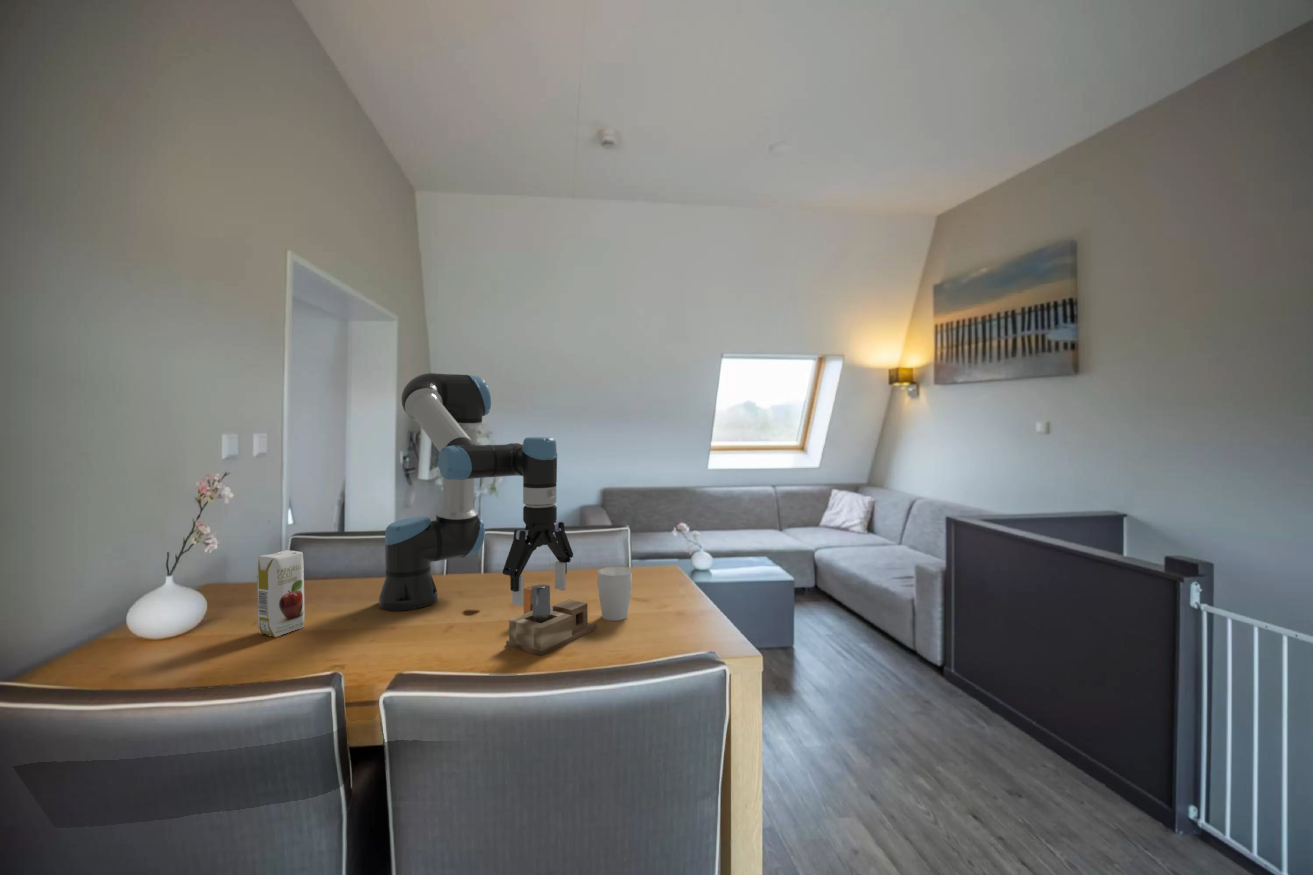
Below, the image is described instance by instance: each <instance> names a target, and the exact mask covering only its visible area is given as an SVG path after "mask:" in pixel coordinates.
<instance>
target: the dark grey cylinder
mask: <svg viewBox="0 0 1313 875" xmlns="http://www.w3.org/2000/svg"><path fill="white" fill-rule="evenodd" d="M532 586H533V587H532V618H533V621H534V622H537V623H543V622H546V621H548V620H550V606H551V586H550V585H549V584H537V585H532Z"/></svg>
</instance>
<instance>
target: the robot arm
mask: <svg viewBox="0 0 1313 875" xmlns="http://www.w3.org/2000/svg"><path fill="white" fill-rule="evenodd" d="M400 401H401V406H402V408H403V411H404V412H405V414H406V415H407V417H408V418H410V419H411V420H413V421H415V422H417V423H418V425H419V426H420V427H421V429H422V430H423V431H424V433H425V434H426V436H427V437H428V438H429V440H430V441H431V442H432V444H433V446H434V447H435V448H436V450H438V452H439V454H438V461H437V464H438V468H439V473H440V475H441V476H442V478H443V480H442V502H441V503H442V504H441V505H442V506H441V508H439V509H438V510H437V511H436V515H435V516H436V517H435V520H431V519H430V517H429V516H412V517H407V518H403V519H399V520H396V521H394V522H391V523H390V524H388V525H387V527H386V529H385V534H384V541H383V542H384V545H385V546H384V549H385V550H384V554H385V555H384V556H385V557H384V560H385V561H384V562H385V563H384V564H385V578H384V581H383V585H382V588H381V591H380V595H379V598H378V607H379V608H380V609H382V610H385V611H397V612H398V611H409V610H416V609H421V608H425V607H428V606H430V605H433V604H435V603H436V602H437V601H438V588H437V586H436V584H435V581H434V578H433V576H432V573H431V569H432V568H431V565H432V562H439V561H445V560H451V559H452V560H453V559H459V558H461V559H462V558H467V557H468V556H473V555H476V554H477V553H478V552H479V551H480V550H481V549H482V548H483V545H484V543H485V542H484V541H485V537H486V536H485V535H486V529H485V523H484V520H483V518H482V517H481V516H480V515H479V512H478V511H477V510H476V508H475V507H474V492H475V491H474V489H475V488H474V487H475V486H474V485H475V479H482V478H483V479H485V478H501V477H502V478H503V477H512V476H513V477H514V476H515V477H517V476H518V477H520V476H521V477H522V480H523V481H522V482H523V483H522V484H523V485H522V486H523V487H522V491H523V492H522V495H523V496H522V497H523V498H522V503H523V504H524V506H523V507H522V521H523V523H524V524H525V528H524V529H523V530H522V529H521V530H520V529H515V530H513V540H512V543H511V546H510V549H509V551H508V555H507V557H506V560H505V564H504V566H503V569H502V574H503V575H504V576H509V577H510V581H509V583H510V584H509V585H510V591H511V593H512V594H511V595H512V596H511V598H512V599H511V600H512V601H511V603H512V605H513V606H518V607H524V588H525V587H524V582H525V581H524V578H525V577H524V575H521V574H522V573H523V571H524V569H525V568H526V565H527V564H528V562H529V560H530V558H531V556H532V554H533V553H534V551H536V550H537V548H541V547H542V546H547V547H548V548H549V550H550V551H551V553H552V554H553V555H554V558H556V560H557V561H554V589H555V590H560V591H566V590H567V589H566V588H567V587H566V585H567V584H566V583H567V582H566V580H567V579H566V578H567V577H566V576H567V573H568V571H567V570H568V567H567V566H568V563H570V562H571V560H572V558H573V557H574V553H573V550H572V547H571V544H570V541H569V539H568V536H567V533H566V530H565V522H564V521H559V520H558V518H557V516H558V515H557V514H558V512H557V509H558V507H557V506H556V505H555V504H557V483H558V480H557V479H558V478H557V477H558V474H557V472H558V452H557V441H556V439H555V438H553V437H550V436H547V437H545V436H537V437H536V436H531V437H525V438H524V439H523V442H522V444H520V443H517V442H515V443H513V442H512V443H506V444H483V445H482V444H480V445H477V444H476V443H477V429H478V427H479V426H480V425H481V424H482V423H483V417H485V416H487V415H488V414H489V413H490V410H491V407H492V397H491V392H490V388H489V386H488V384H487V382H486V381H485V379H484V378H482V377H480V376H479V375H478V376H477V375H471V374H459V373H458V374H451V373H448V374H447V373H435V372H434V373H433V372H428V373H422V374H421V375H417V376H415V377H414V378H412V379H411V380H410V381H409V382H407V384H406V385H405V386H404V388H403V390H402V392H401V397H400Z"/></svg>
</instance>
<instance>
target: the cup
mask: <svg viewBox="0 0 1313 875" xmlns="http://www.w3.org/2000/svg"><path fill="white" fill-rule="evenodd" d="M632 574H633V573H632V570H631V569H630V568H628V567H623V566H607V567H603V568H600V569H598V571H597V582H596V583H597V589H598V590H597V591H598V597H599V603H600V604H599V605H600V610H601V611H600V612H601V617H602V619H604V620H606V621H610V622H611V621H613V622H617V621H622V620H625V619H627V618H628V616H629V608H630V607H629V606H630V600H631V595H632V594H631V593H632V592H631V591H632V585H633V577H632Z"/></svg>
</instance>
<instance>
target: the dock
mask: <svg viewBox="0 0 1313 875" xmlns="http://www.w3.org/2000/svg"><path fill="white" fill-rule="evenodd" d="M552 606H553V611H552V610H550V620H548V621H546V622H543V623H537V622H534V621H533V618H532V611H531V612H528V613H525V614H524V613H523V614H521V615H518V616H515V617H513V618H510V619H508V630H509V631H508V639H507V640H506V641H505V646H508V647H510V648H511V647H512V648H514V649H518V650H521V651H525V652H528V653H531V654H534V655H538V656H544V655H546V654H548V653H550V652H552V651H554V650H556V649H558V648H561V647H562V646H565V645H566V644H568V643H571V642H572V641H575V640H577V639H579V638H581V637H583V636H585V635H587V634H589V633H591V632H593V631H595V630H597V624H595V623H590V622H588V603H587V602H583V601H579V600H575V599H570V598H569V599H566V600H564V601H561V602H558V603H556V604H553V605H552Z"/></svg>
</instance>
